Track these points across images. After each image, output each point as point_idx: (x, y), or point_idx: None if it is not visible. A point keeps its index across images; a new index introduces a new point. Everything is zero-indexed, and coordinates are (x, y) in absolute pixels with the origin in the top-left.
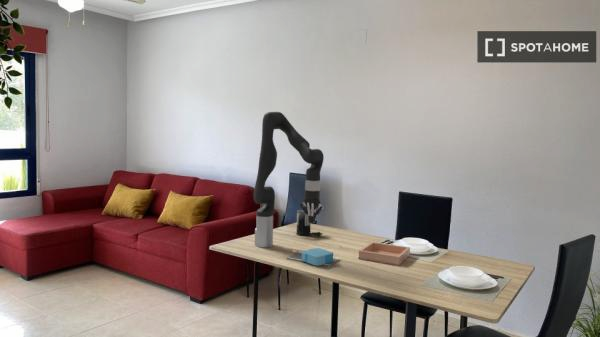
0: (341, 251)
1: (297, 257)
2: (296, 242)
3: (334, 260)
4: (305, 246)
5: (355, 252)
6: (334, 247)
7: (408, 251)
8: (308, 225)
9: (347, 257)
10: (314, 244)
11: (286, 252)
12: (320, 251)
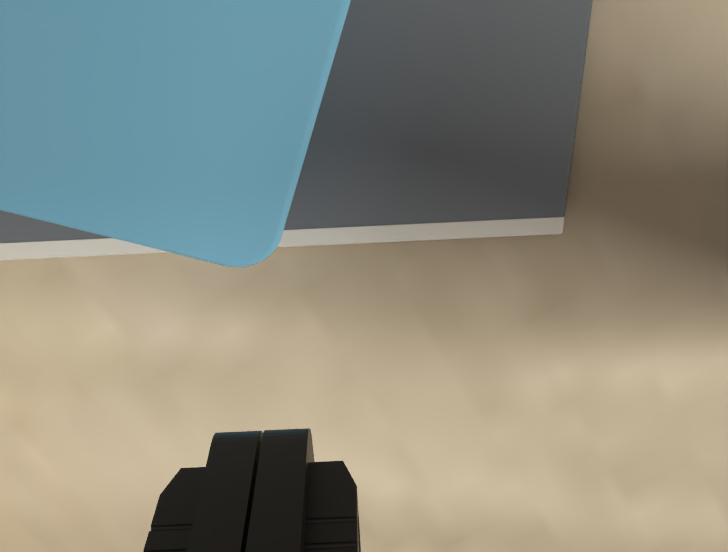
0: None
1: (468, 26)
2: (712, 502)
3: None
4: (578, 450)
5: (68, 524)
6: None
7: None
8: None
9: (16, 374)
10: (523, 531)
11: (701, 177)
12: (112, 129)
